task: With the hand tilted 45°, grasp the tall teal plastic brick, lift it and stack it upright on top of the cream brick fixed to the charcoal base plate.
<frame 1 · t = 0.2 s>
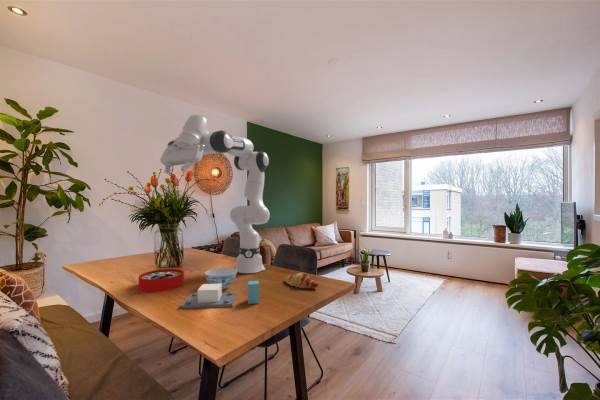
hand: (174, 171, 110), 54 cm above the table, tool tilted 30°, fingers open, 8 cm apart
croissant: (300, 285, 135), on the table
stack base: (210, 301, 112), on the table
toy clock: (161, 286, 134), on the table
chinaware: (221, 287, 131), on the table
teal brick: (253, 301, 112), on the table
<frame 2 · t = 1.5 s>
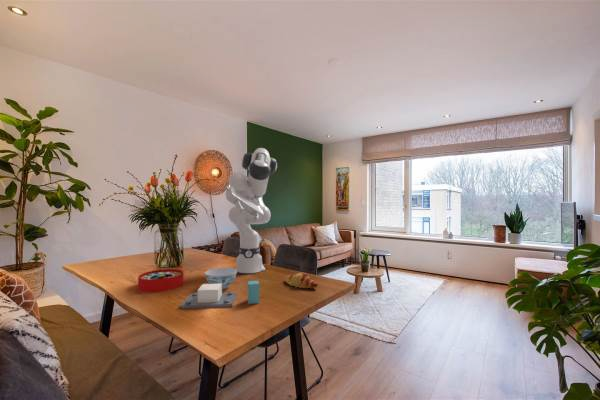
hand: (249, 215, 113), 36 cm above the table, tool tilted 55°, fingers open, 8 cm apart
nothing on the table moved.
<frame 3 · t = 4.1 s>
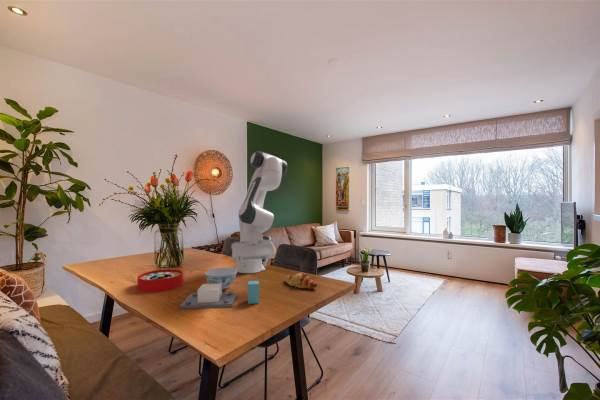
hand: (254, 266, 122), 12 cm above the table, tool tilted 45°, fingers open, 8 cm apart
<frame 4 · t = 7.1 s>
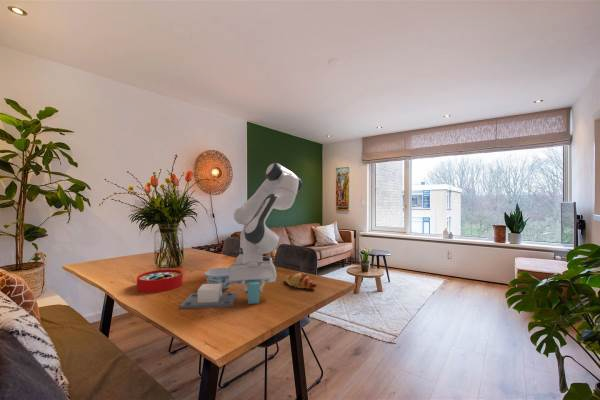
hand: (253, 291, 112), 4 cm above the table, tool tilted 45°, fingers closed on teal brick, 4 cm apart
teal brick: (253, 301, 112), on the table, touching gripper
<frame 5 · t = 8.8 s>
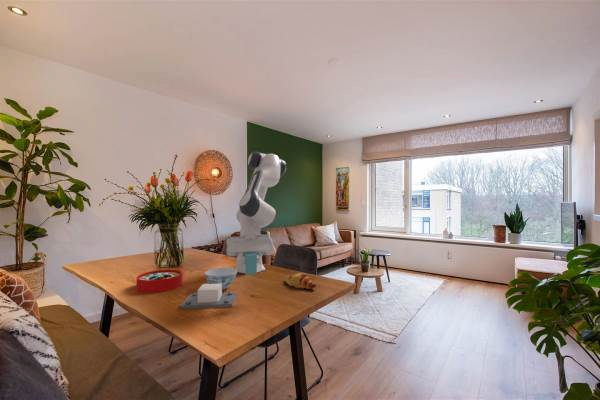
hand: (251, 263, 112), 16 cm above the table, tool tilted 45°, fingers closed on teal brick, 4 cm apart
teal brick: (250, 273, 113), point 12 cm above the table, touching gripper
when the fingers open (12 cm above the table, at t = 11.0 s): teal brick drops 1 cm, resting on stack base.
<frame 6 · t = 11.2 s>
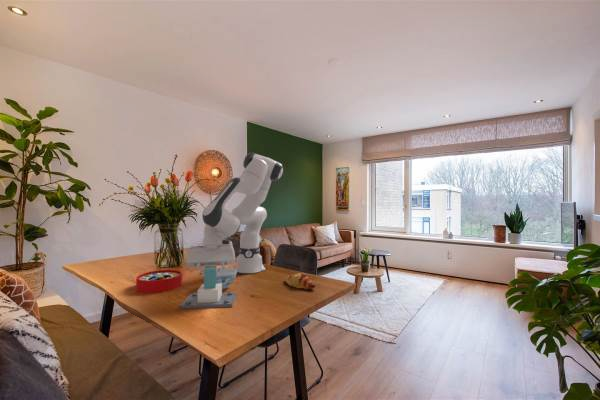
hand: (210, 273, 112), 12 cm above the table, tool tilted 45°, fingers open, 6 cm apart
teal brick: (210, 286, 112), point 6 cm above the table, touching stack base
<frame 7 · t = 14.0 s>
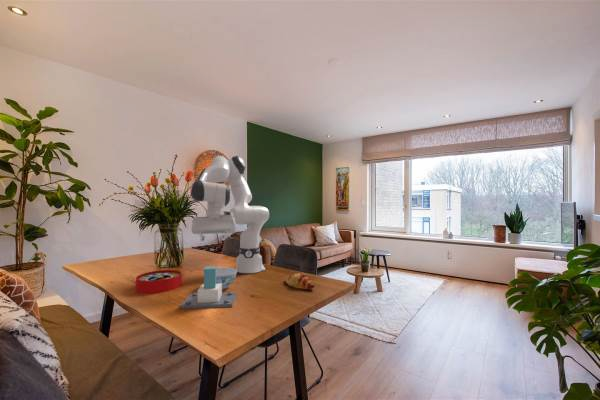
hand: (213, 239, 124), 24 cm above the table, tool tilted 45°, fingers open, 8 cm apart
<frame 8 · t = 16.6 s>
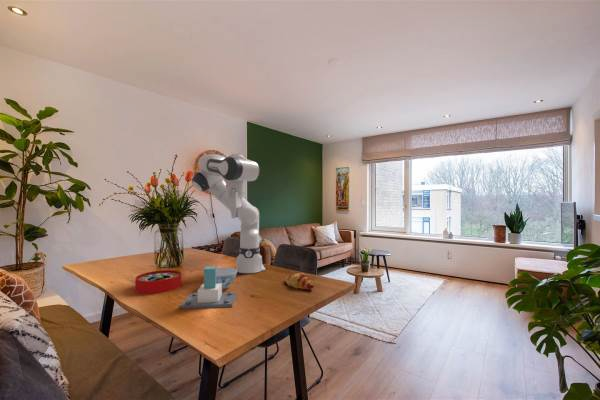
hand: (235, 217, 128), 34 cm above the table, tool pointing down, fingers open, 8 cm apart
at the end: teal brick 0.0 cm from the stack base (horizontally); teal brick point 6.2 cm above the table; teal brick tilted 0° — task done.
